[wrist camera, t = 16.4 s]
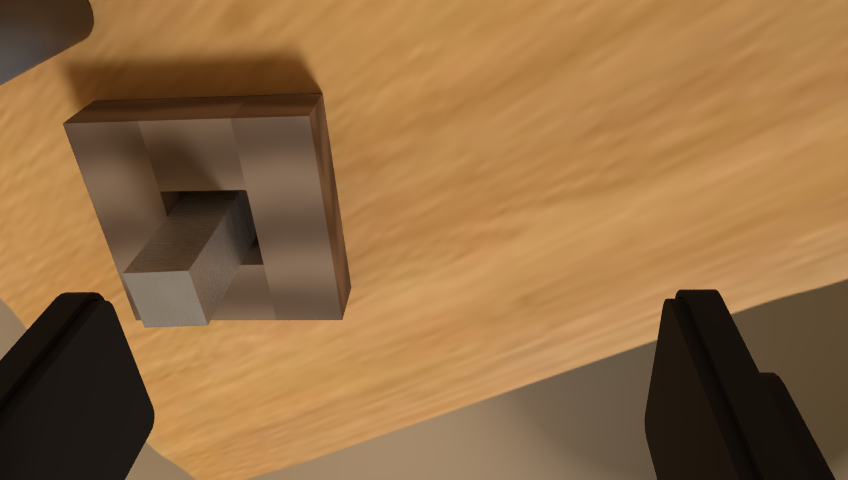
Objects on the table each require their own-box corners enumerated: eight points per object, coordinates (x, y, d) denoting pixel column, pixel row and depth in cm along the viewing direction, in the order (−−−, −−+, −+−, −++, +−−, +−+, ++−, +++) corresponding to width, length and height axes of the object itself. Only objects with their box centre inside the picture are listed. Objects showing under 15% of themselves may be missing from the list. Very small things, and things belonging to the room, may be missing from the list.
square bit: (197, 178, 48) (122, 273, 38) (250, 175, 48) (188, 270, 38) (212, 225, 50) (144, 327, 40) (263, 222, 50) (207, 325, 40)
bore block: (93, 101, 45) (62, 123, 42) (322, 93, 44) (309, 115, 41) (157, 289, 54) (136, 320, 51) (351, 287, 52) (342, 320, 49)
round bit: (20, -17, 42) (-136, 39, 32) (76, -27, 41) (-65, 27, 31) (50, 46, 44) (-88, 117, 34) (103, 38, 43) (-20, 108, 33)
